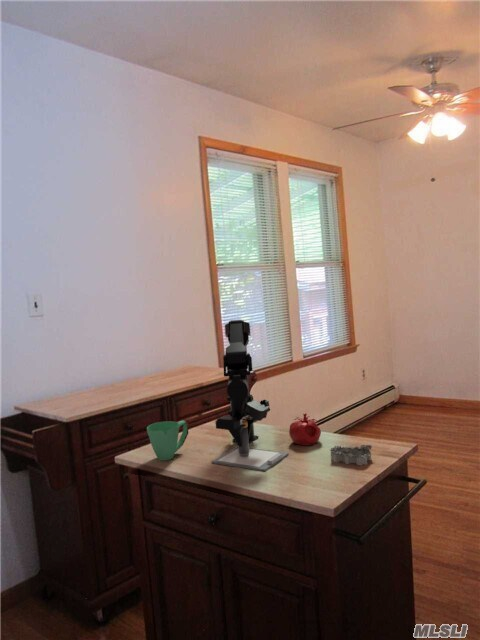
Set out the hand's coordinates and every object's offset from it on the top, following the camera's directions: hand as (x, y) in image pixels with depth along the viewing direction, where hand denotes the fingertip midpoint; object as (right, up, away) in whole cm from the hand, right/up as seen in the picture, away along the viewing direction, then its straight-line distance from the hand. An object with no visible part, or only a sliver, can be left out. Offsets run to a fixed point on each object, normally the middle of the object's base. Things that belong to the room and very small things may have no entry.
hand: (243, 444), depth 146 cm
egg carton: (+30, -3, -8) cm, 31 cm away
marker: (0, -3, 0) cm, 3 cm away
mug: (-22, -5, +8) cm, 24 cm away
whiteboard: (+2, -4, -1) cm, 4 cm away
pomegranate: (+20, -2, +10) cm, 22 cm away
